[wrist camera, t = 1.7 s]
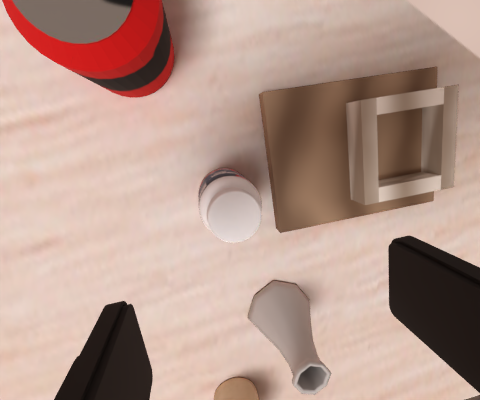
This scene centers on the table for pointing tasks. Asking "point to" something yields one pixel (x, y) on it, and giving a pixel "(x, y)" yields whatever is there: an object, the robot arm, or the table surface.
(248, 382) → the candle
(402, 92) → the socket board
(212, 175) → the pill bottle
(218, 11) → the table surface
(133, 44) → the soda can
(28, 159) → the table surface
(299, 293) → the flask
